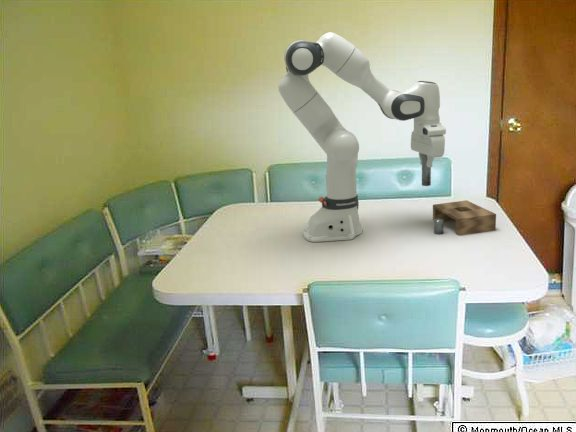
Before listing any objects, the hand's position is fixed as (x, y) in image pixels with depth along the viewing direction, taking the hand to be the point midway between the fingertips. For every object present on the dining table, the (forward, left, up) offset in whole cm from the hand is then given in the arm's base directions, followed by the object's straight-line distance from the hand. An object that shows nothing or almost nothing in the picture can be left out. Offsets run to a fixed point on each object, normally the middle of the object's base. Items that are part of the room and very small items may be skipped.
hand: (426, 165), depth 177 cm
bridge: (+12, -5, -23) cm, 26 cm away
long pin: (0, 0, -7) cm, 7 cm away
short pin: (0, -10, -23) cm, 25 cm away
